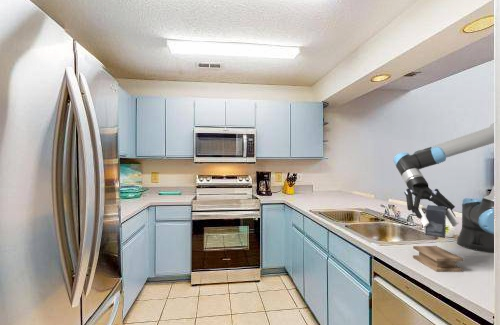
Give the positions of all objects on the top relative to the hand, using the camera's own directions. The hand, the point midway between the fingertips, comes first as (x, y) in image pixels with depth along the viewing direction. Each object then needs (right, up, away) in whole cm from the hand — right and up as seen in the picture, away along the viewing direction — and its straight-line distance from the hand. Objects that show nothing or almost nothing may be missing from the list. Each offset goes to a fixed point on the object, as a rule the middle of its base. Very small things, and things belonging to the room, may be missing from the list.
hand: (441, 224), depth 97 cm
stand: (0, -17, +3) cm, 17 cm away
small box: (0, -4, +3) cm, 5 cm away
